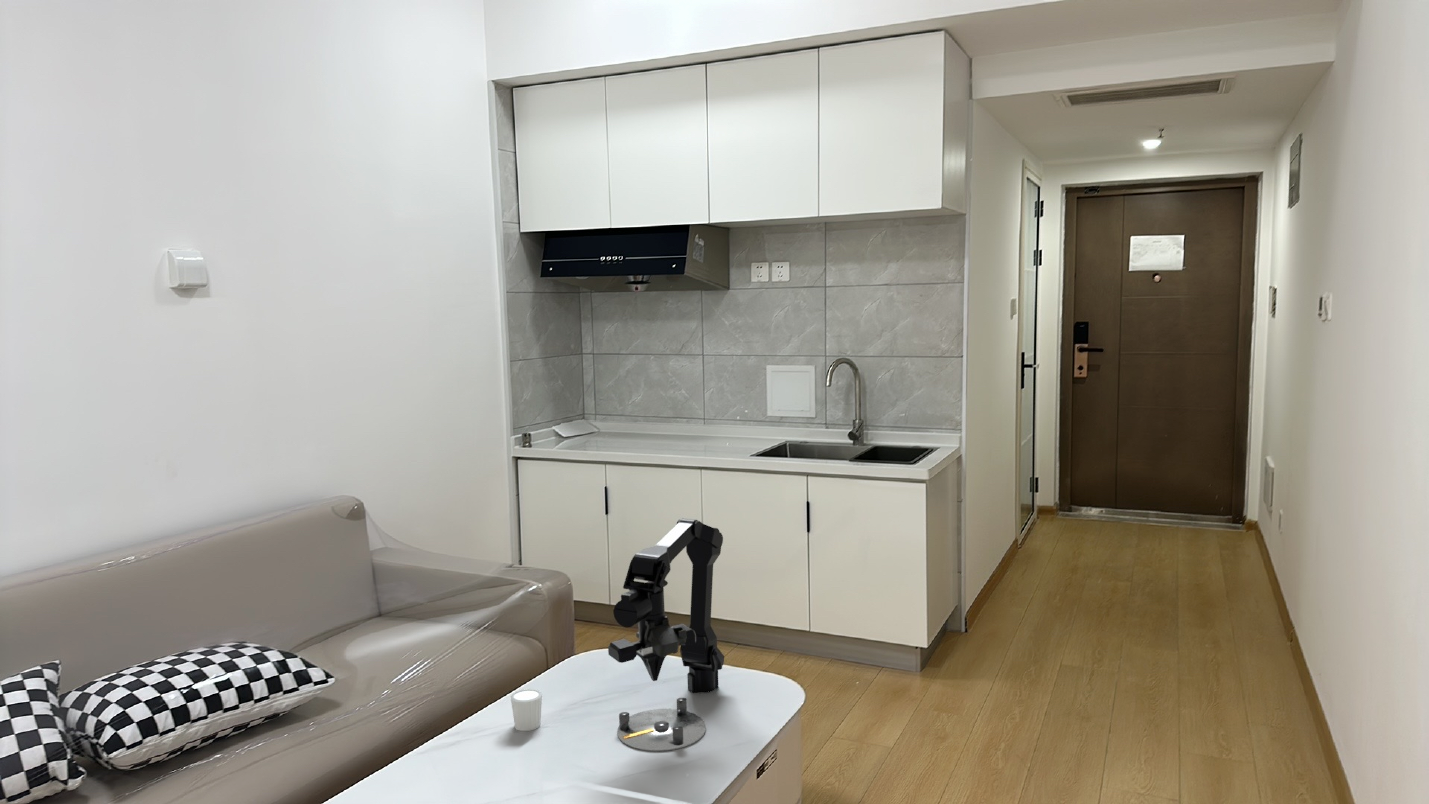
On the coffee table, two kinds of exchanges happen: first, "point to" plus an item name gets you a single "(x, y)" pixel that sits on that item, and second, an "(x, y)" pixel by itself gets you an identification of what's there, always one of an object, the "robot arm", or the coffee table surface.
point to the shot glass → (526, 709)
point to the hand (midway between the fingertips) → (654, 680)
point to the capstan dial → (661, 728)
